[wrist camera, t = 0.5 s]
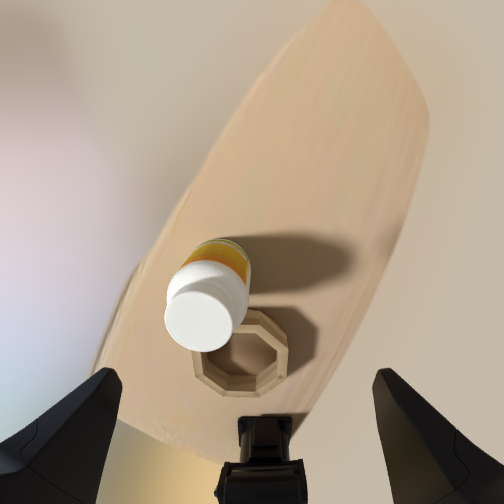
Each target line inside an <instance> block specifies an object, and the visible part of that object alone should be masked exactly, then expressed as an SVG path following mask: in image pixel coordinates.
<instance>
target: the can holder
mask: <svg viewBox="0 0 504 504" xmlns="http://www.w3.org/2000/svg"><path fill="white" fill-rule="evenodd" d="M191 352H192V359H193V365H194V372H195V377H196V378H198V379H199V380H200V381H202V382H203V383H205V384H206V385H207V386H209V387H210V388H212V389H213V390H215V391H216V392H217V393H219V394H220V395H222V396H226V397H260V396H262V395H263V394H265V393H266V392H268V391H269V390H271V389H272V388H274V387H275V386H277V385H278V384H280V383H281V382H283V381H284V380H285V379H286V375H287V363H288V342H287V335H286V333H285V332H283V331H282V330H281V328H280V327H279V326H278V324H277V323H276V322H275V321H274V320H273V319H272V318H270V317H269V316H268V315H266V314H264V313H262V312H261V311H257V310H254V309H249V308H247V312H246V315H245V317H244V319H243V321H242V322H241V324H240V325H239V326H238V327H237V328H236V329H235V330H234V331H233V332H232V335H231V337H230V339H229V340H228V341H227V343H226V344H224V345H223V346H222V347H220V348H218V349H216V350H213V351H209V352H198V351H193V350H191Z"/></svg>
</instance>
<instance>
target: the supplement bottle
mask: <svg viewBox="0 0 504 504" xmlns="http://www.w3.org/2000/svg"><path fill="white" fill-rule="evenodd" d="M250 280H251V265H250V261H249V258H248V256H247V254H246V253H245V251H244V250H243V249H242V248H241V247H240V246H239V245H237V244H236V243H234V242H232V241H230V240H226V239H211V240H208V241H206V242H204V243H202V244H201V245H199V246H198V247H197V248H196V249H195V250H194V251H193V253H192V254H191V255H190V256H189V258H188V259H187V260H186V261H185V263H184V264H183V265H182V266H181V268H180V269H179V270H178V271H177V273H176V274H175V275H174V277H173V278H172V280H171V282H170V284H169V287H168V291H167V304H168V305H167V307H166V311H165V324H166V327H167V330H168V332H169V333H170V335H171V336H172V337H173V339H174V340H175V341H176V342H178V343H179V344H180V345H182V346H183V347H185V348H187V349H190V350H193V351H198V352H209V351H213V350H216V349H218V348H220V347H222V346H223V345H224V344H226V343H227V341H228V340H229V339H230V337H231V335H232V332H233V331H234V330H235V329H236V328H237V327H238V326H239V325H240V324H241V322H242V321H243V319H244V317H245V315H246V312H247V308H248V302H249V290H250Z"/></svg>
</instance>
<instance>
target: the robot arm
mask: <svg viewBox="0 0 504 504" xmlns="http://www.w3.org/2000/svg"><path fill="white" fill-rule="evenodd" d="M372 391H373V397H374V404H375V412H376V420H377V427H378V432H379V436H380V440H381V444H382V449H383V453H384V457H385V462H386V466H387V471H388V476H389V481H390V486H391V491H392V496H393V502H394V504H504V465H503V464H501V463H499V462H498V461H497V460H495V459H494V458H493V457H491V456H489V455H488V454H487V453H485V452H484V451H483V450H481V449H480V448H479V447H477V446H476V445H475V444H473V443H472V442H471V441H470V440H469V439H468V438H466V437H465V436H464V435H463V434H462V433H461V432H460V431H459V430H458V429H456V428H455V427H454V426H453V425H452V424H451V423H450V422H449V421H448V420H447V419H446V418H445V417H444V416H443V415H441V414H440V413H439V412H438V411H437V410H436V409H435V408H434V407H433V406H432V405H430V403H428V402H427V401H426V400H425V399H424V398H423V397H422V396H420V394H419V393H417V392H416V391H415V390H414V389H413V388H412V387H411V386H410V385H409V384H408V383H407V382H406V381H404V380H403V379H402V378H401V377H400V376H399V375H398V374H397V373H396V372H394V371H393V370H392V369H391V368H383V369H379V370H378V372H377V374H376V377H375V380H374V383H373V387H372ZM121 393H122V382H121V380H120V379H119V377H118V375H117V373H116V371H115V370H114V369H112V368H107V367H104V368H102V369H100V370H99V371H98V372H97V373H95V374H94V375H93V376H91V377H90V378H89V379H87V380H86V381H85V382H84V383H82V384H81V385H80V386H78V387H77V388H76V389H75V390H73V391H72V392H71V393H69V394H68V395H67V396H65V397H64V398H63V399H62V400H60V401H59V402H58V403H56V404H55V405H54V406H52V407H51V408H50V409H49V410H47V411H46V412H45V413H43V414H42V415H41V416H39V418H37V419H35V420H34V421H33V422H32V423H30V424H29V425H28V426H26V427H25V428H24V429H22V430H20V431H19V432H17V433H16V434H14V435H13V436H11V437H9V438H8V439H6V440H4V441H3V442H1V443H0V504H95V503H96V498H97V494H98V489H99V485H100V481H101V476H102V472H103V468H104V464H105V460H106V457H107V453H108V449H109V445H110V442H111V438H112V435H113V431H114V428H115V424H116V420H117V414H118V409H119V403H120V398H121ZM292 422H293V421H292V418H291V417H265V418H261V417H240V418H238V434H239V446H240V447H241V451H240V463H230V462H225V463H224V467H222V469H221V474H220V478H219V482H218V485H217V487H216V489H215V491H214V495H215V497H217V498H218V502H219V504H308V492H307V481H306V475H305V469H304V464H303V459H298V460H293V461H290V458H289V442H290V436H291V429H292Z"/></svg>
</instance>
